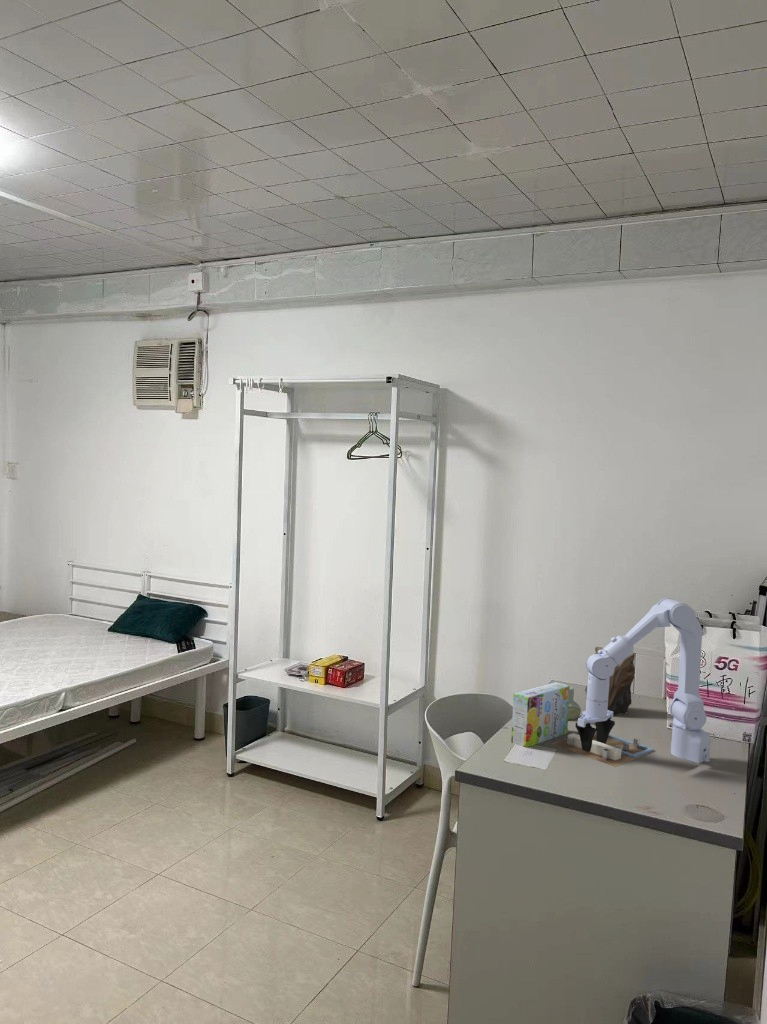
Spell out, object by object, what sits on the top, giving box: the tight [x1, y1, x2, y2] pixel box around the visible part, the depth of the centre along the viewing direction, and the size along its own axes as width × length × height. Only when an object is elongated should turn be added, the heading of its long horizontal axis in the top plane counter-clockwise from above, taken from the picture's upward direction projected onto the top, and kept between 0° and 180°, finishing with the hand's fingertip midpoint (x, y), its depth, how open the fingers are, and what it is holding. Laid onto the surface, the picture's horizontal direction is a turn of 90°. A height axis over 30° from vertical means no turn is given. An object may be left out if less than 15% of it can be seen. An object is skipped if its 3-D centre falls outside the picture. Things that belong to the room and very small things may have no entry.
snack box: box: [510, 681, 571, 748], centre depth 215 cm, size 21×6×15 cm, turn 134°
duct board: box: [550, 733, 656, 768], centre depth 210 cm, size 20×21×1 cm
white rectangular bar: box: [567, 733, 621, 760], centre depth 206 cm, size 15×3×2 cm, turn 42°
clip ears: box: [567, 736, 641, 760], centre depth 210 cm, size 12×17×2 cm
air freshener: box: [568, 685, 582, 720], centre depth 237 cm, size 11×8×10 cm
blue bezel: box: [577, 732, 654, 758], centre depth 213 cm, size 19×10×1 cm, turn 42°
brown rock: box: [585, 646, 636, 715], centre depth 249 cm, size 13×13×20 cm
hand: (593, 748), depth 206 cm, fingers open, 7 cm apart
